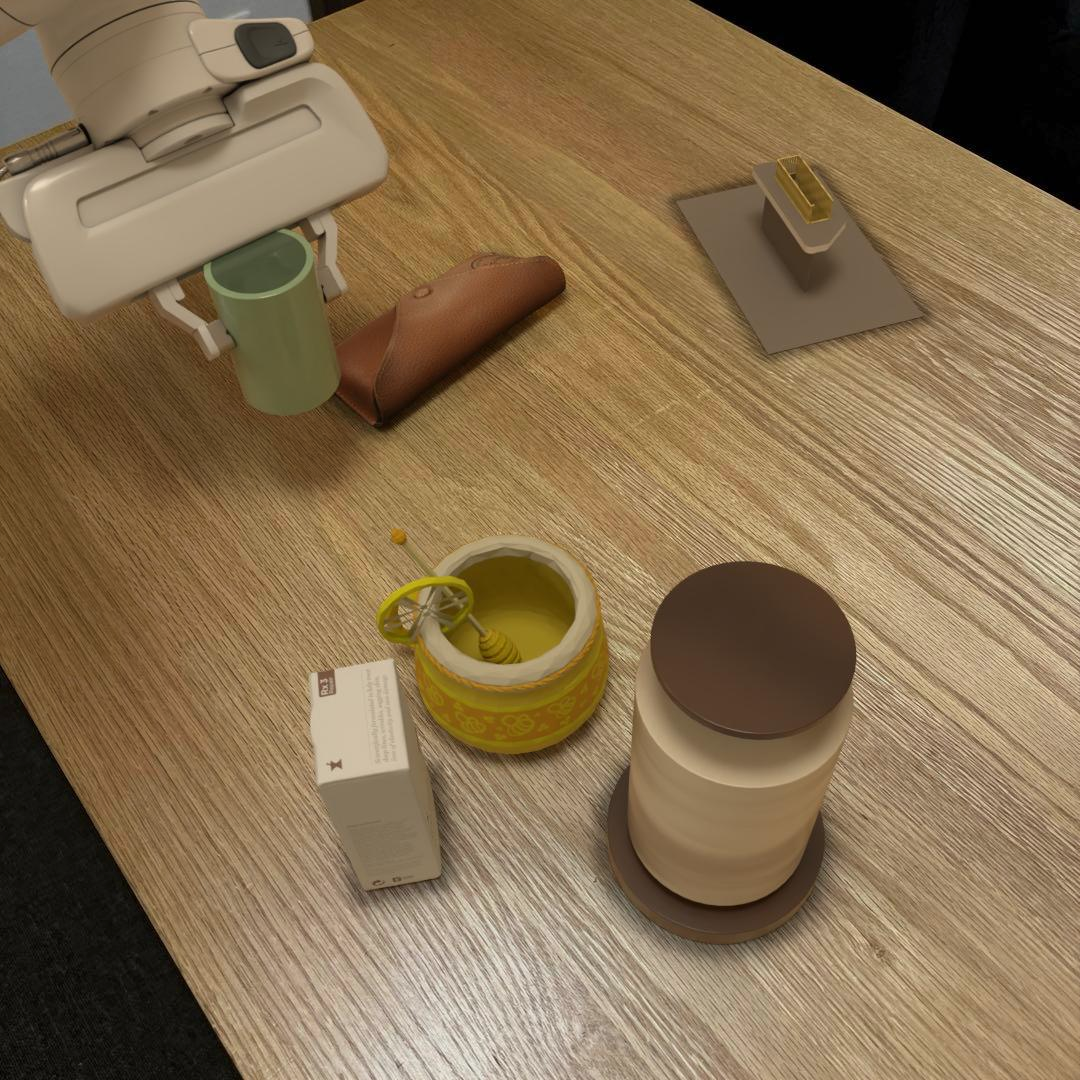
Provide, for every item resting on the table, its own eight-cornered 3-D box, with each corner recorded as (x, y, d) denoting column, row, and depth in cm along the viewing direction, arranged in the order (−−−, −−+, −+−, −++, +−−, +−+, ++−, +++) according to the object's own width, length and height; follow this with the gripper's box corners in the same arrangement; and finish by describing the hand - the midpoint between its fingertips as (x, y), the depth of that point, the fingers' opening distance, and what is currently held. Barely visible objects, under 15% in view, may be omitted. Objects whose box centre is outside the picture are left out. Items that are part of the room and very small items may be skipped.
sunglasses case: (485, 244, 90) (514, 199, 84) (545, 315, 90) (578, 276, 84) (303, 371, 83) (320, 332, 77) (368, 449, 83) (390, 416, 77)
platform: (816, 170, 95) (829, 96, 90) (924, 316, 85) (946, 242, 79) (675, 201, 93) (680, 128, 88) (768, 354, 83) (780, 281, 78)
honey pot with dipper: (630, 624, 70) (637, 494, 60) (577, 789, 64) (575, 674, 54) (427, 574, 73) (402, 443, 63) (357, 728, 66) (318, 608, 57)
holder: (814, 963, 58) (893, 794, 43) (590, 922, 59) (590, 745, 44) (825, 760, 64) (898, 550, 49) (623, 728, 66) (634, 515, 51)
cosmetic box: (445, 878, 61) (418, 772, 51) (358, 895, 61) (314, 791, 51) (429, 770, 65) (402, 652, 55) (347, 785, 64) (304, 669, 55)
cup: (324, 421, 70) (293, 304, 62) (227, 409, 70) (186, 292, 63) (353, 350, 73) (327, 231, 66) (260, 340, 74) (225, 221, 67)
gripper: (-31, 151, 58) (116, 403, 61) (328, 9, 65) (445, 241, 68) (-27, 184, 64) (108, 413, 67) (303, 51, 71) (412, 263, 74)
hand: (281, 325), depth 68 cm, fingers closed on cup, 6 cm apart
